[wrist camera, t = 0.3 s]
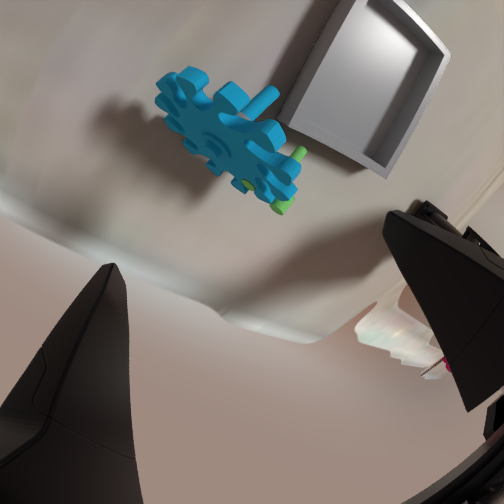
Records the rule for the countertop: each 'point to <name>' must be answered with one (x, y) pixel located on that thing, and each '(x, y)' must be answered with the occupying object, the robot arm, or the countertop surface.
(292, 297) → the countertop surface
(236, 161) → the gear
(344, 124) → the tray
